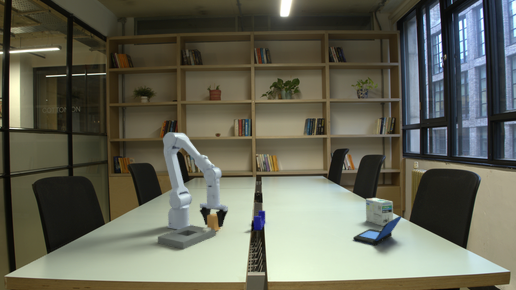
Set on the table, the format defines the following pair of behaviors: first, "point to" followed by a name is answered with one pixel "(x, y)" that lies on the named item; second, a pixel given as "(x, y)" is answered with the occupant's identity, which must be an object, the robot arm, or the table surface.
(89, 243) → the table surface
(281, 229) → the table surface
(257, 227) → the cable clip
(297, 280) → the table surface
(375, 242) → the handheld game console
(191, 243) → the socket plate
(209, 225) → the plug
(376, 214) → the light bulb box
